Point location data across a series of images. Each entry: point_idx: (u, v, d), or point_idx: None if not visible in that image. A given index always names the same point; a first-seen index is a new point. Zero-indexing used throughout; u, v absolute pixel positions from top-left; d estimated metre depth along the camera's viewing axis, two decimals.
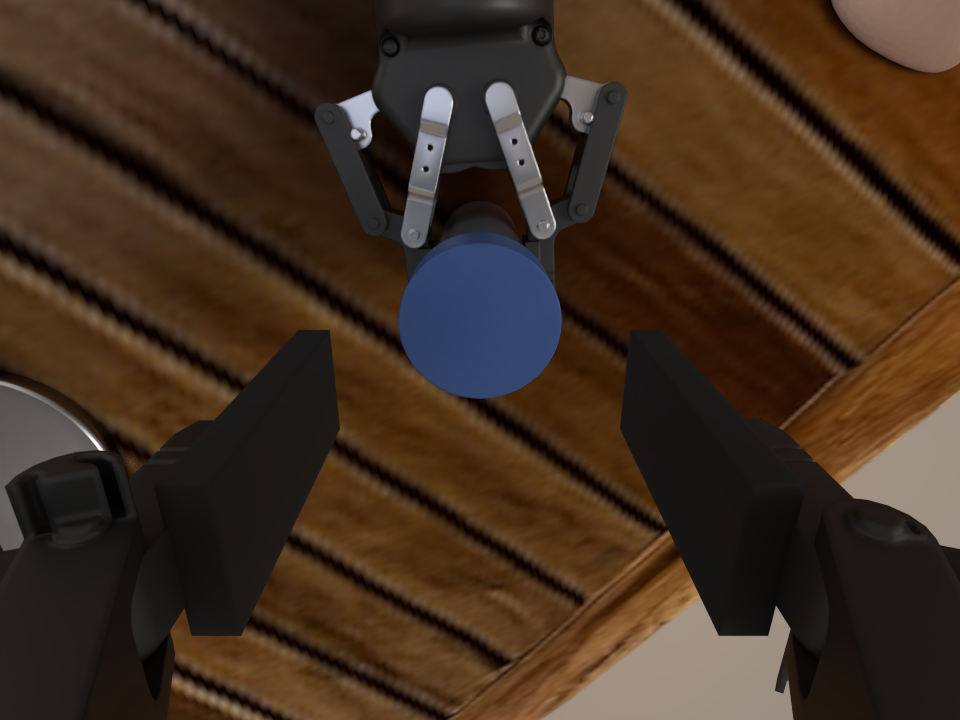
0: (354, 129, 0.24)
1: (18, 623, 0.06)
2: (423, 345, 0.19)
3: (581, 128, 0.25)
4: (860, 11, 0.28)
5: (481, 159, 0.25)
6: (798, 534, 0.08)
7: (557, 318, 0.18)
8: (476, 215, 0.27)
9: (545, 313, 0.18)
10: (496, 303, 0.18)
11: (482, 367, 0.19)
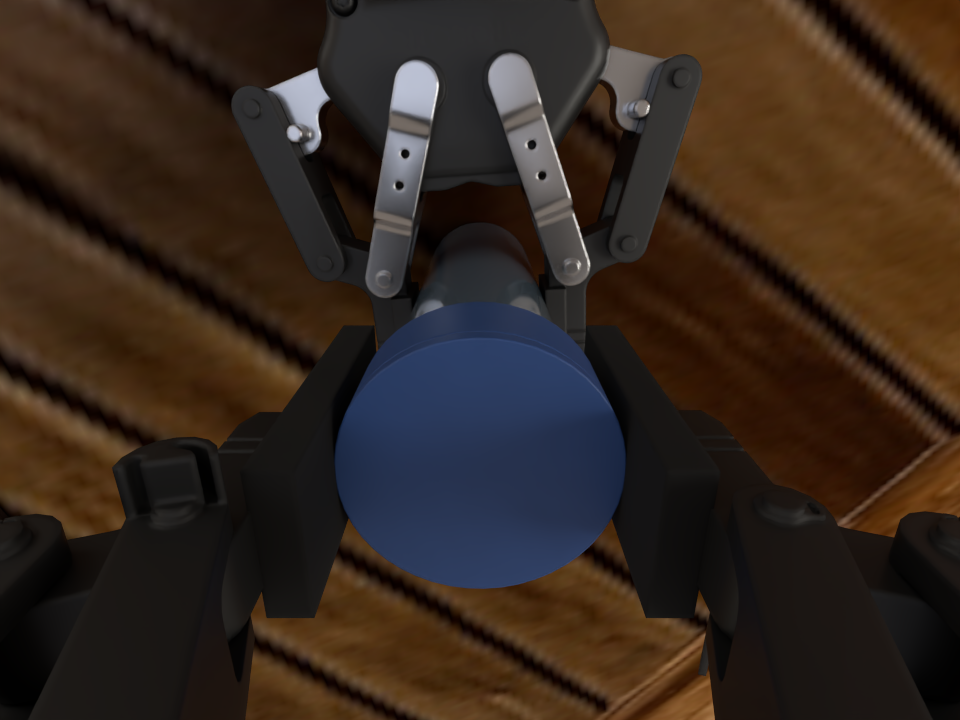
0: (292, 126, 0.16)
1: (123, 599, 0.06)
2: (379, 507, 0.10)
3: (629, 125, 0.17)
4: None
5: (482, 170, 0.17)
6: (714, 518, 0.08)
7: (619, 464, 0.10)
8: (474, 250, 0.19)
9: (598, 456, 0.10)
10: (510, 440, 0.10)
11: (484, 541, 0.11)
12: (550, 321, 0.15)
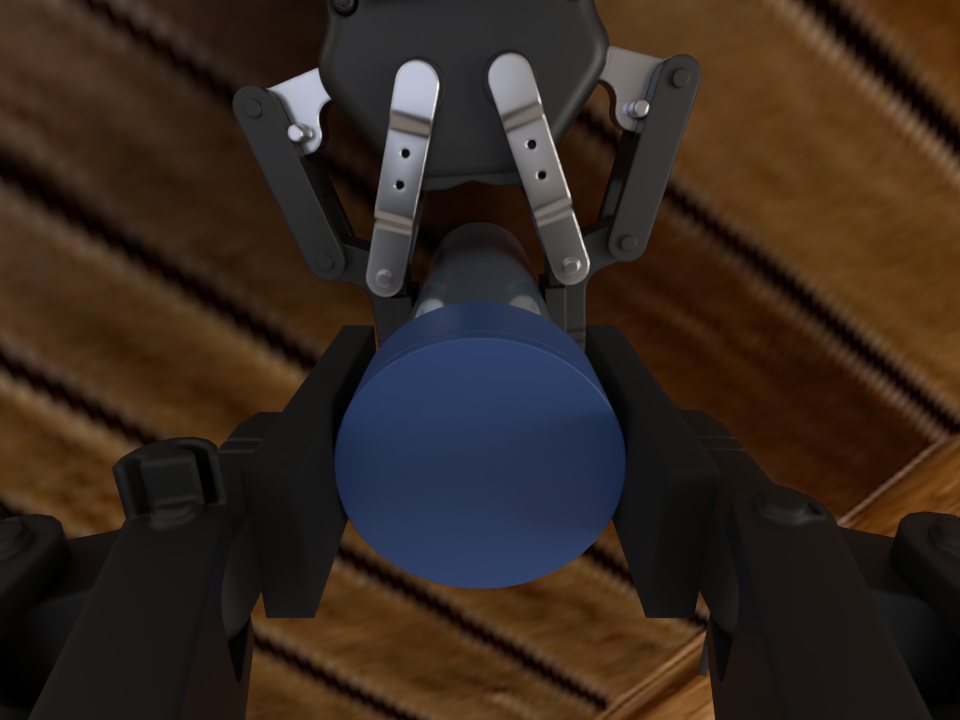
0: (293, 126, 0.16)
1: (122, 600, 0.06)
2: (493, 562, 0.11)
3: (629, 125, 0.17)
4: None
5: (482, 170, 0.17)
6: (714, 518, 0.08)
7: (502, 346, 0.09)
8: (475, 249, 0.19)
9: (486, 366, 0.09)
10: (446, 442, 0.10)
11: (560, 487, 0.10)
12: (550, 320, 0.15)
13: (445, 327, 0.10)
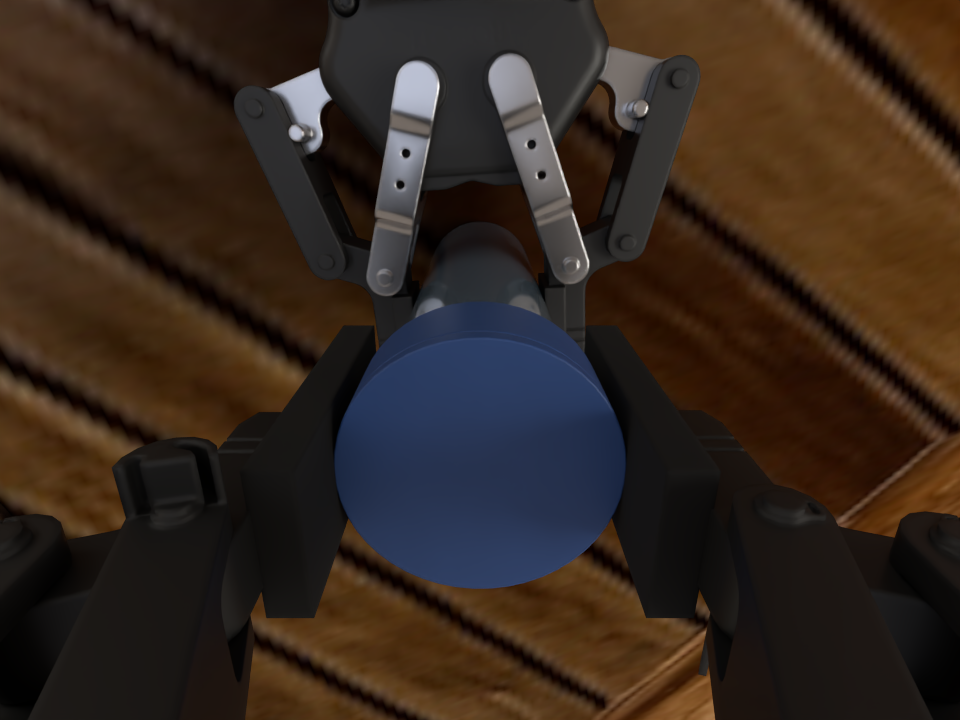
0: (294, 126, 0.16)
1: (122, 599, 0.06)
2: (588, 485, 0.10)
3: (628, 125, 0.17)
4: None
5: (482, 170, 0.17)
6: (714, 519, 0.08)
7: (346, 429, 0.10)
8: (475, 249, 0.19)
9: (363, 447, 0.10)
10: (436, 494, 0.10)
11: (514, 407, 0.10)
12: (549, 319, 0.15)
13: None
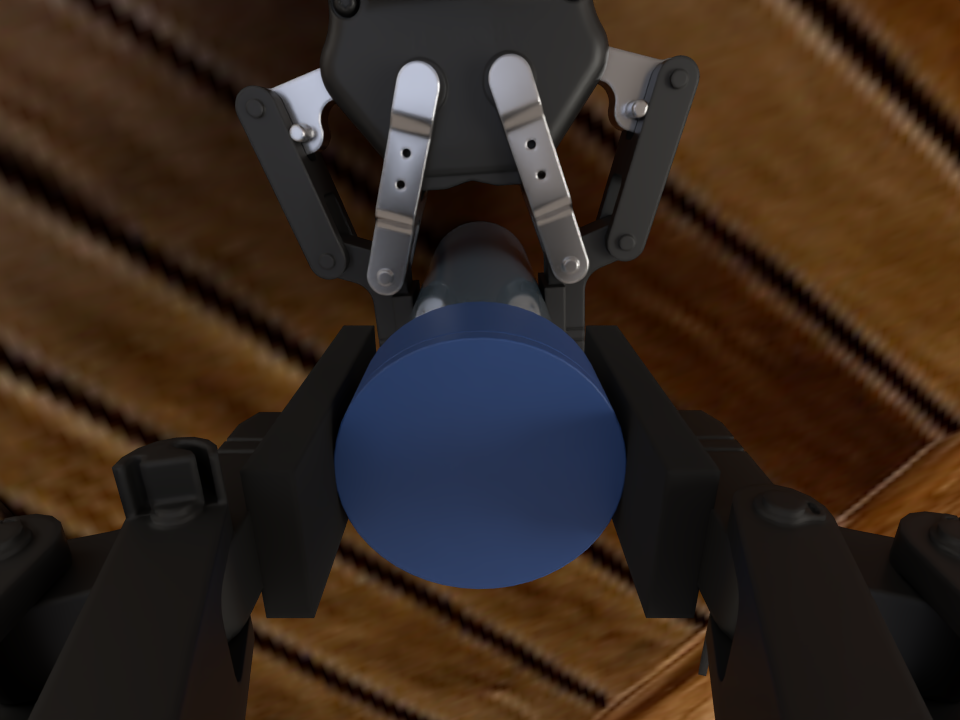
0: (295, 126, 0.17)
1: (122, 599, 0.06)
2: (519, 380, 0.09)
3: (627, 125, 0.17)
4: None
5: (482, 170, 0.17)
6: (714, 518, 0.08)
7: (405, 565, 0.11)
8: (475, 248, 0.19)
9: (425, 558, 0.11)
10: (491, 515, 0.10)
11: (411, 431, 0.10)
12: (549, 318, 0.15)
13: None
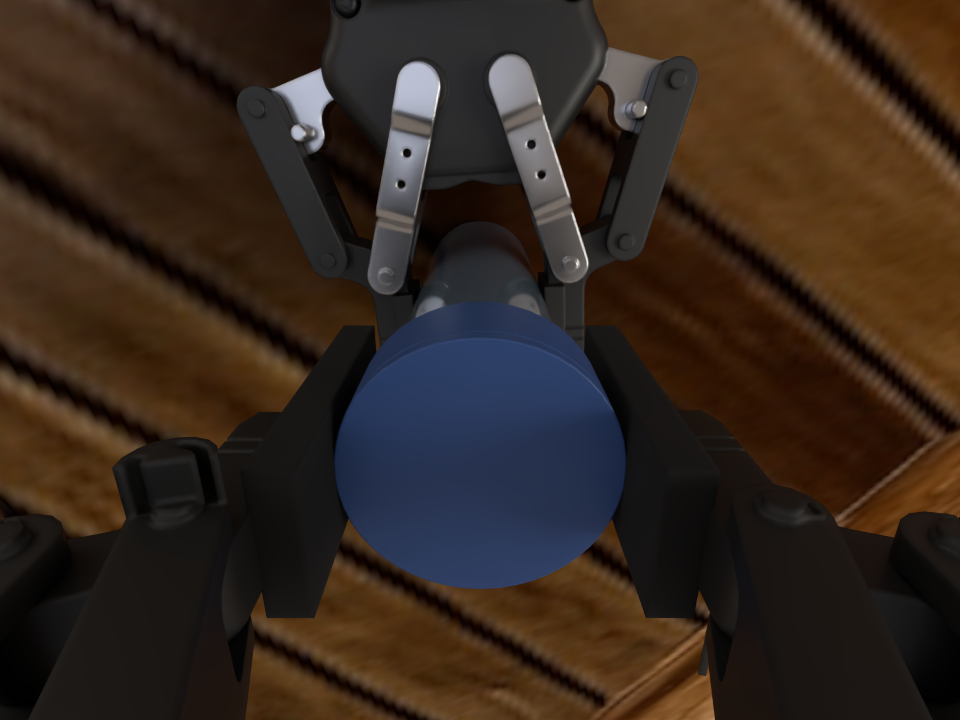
0: (296, 126, 0.17)
1: (122, 599, 0.06)
2: (384, 422, 0.10)
3: (627, 125, 0.17)
4: None
5: (482, 170, 0.17)
6: (714, 518, 0.08)
7: (566, 558, 0.11)
8: (475, 248, 0.19)
9: (562, 541, 0.11)
10: (530, 475, 0.10)
11: (418, 518, 0.11)
12: (549, 317, 0.15)
13: None
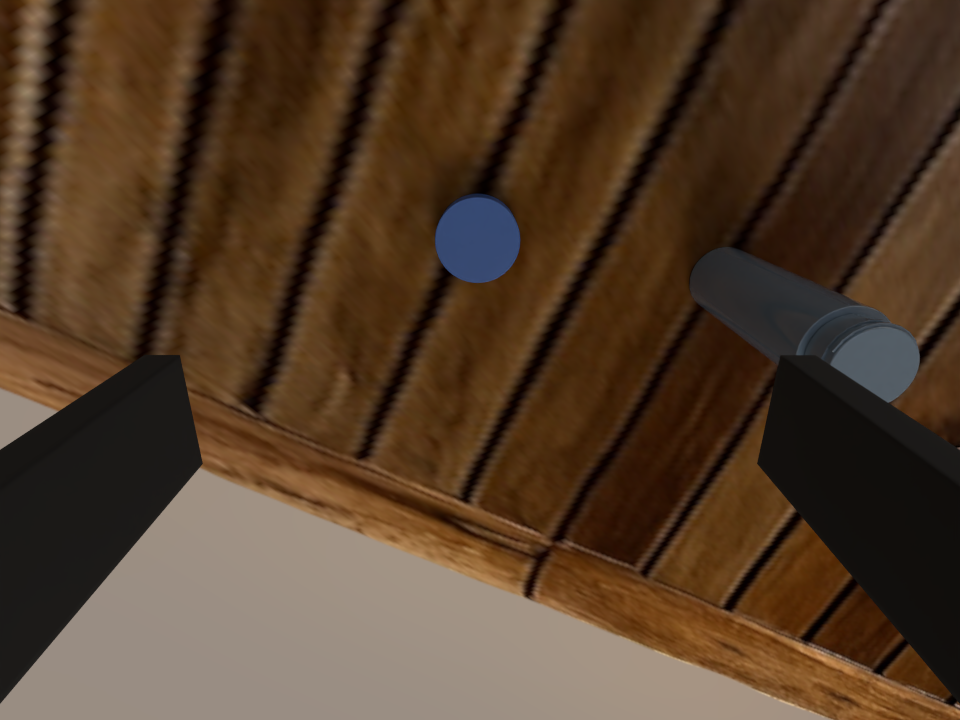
0: None
1: None
2: (450, 223, 0.35)
3: None
4: None
5: None
6: None
7: (504, 270, 0.36)
8: None
9: (502, 264, 0.36)
10: (492, 241, 0.35)
11: (459, 256, 0.35)
12: None
13: None
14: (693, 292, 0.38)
